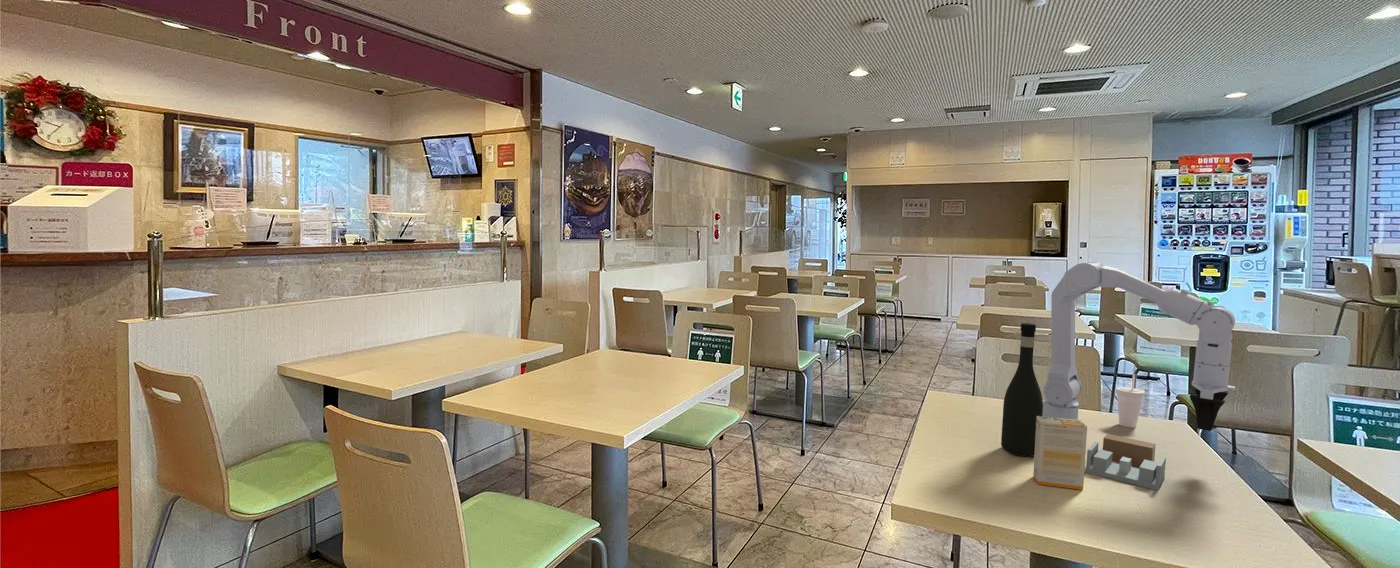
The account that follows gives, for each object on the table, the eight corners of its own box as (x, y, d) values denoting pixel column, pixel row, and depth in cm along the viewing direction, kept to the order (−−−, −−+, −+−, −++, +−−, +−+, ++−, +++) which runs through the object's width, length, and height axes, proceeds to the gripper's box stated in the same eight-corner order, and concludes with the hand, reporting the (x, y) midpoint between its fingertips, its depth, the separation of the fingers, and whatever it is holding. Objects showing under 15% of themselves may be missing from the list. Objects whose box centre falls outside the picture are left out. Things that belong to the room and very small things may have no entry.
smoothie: (1147, 430, 158) (1151, 377, 157) (1119, 428, 159) (1123, 375, 158) (1134, 422, 164) (1139, 371, 163) (1108, 420, 166) (1112, 370, 164)
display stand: (1085, 472, 129) (1086, 450, 129) (1093, 462, 135) (1095, 441, 134) (1158, 490, 120) (1160, 467, 120) (1164, 479, 126) (1166, 456, 126)
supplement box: (1077, 481, 124) (1081, 419, 123) (1083, 491, 119) (1088, 426, 118) (1031, 475, 127) (1036, 414, 125) (1036, 484, 122) (1040, 421, 121)
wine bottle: (1012, 443, 146) (1020, 320, 144) (1046, 453, 140) (1055, 324, 137) (993, 449, 142) (1001, 322, 139) (1027, 460, 135) (1036, 327, 132)
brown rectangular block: (1101, 459, 137) (1103, 437, 137) (1105, 454, 140) (1107, 433, 140) (1150, 470, 131) (1152, 448, 130) (1153, 465, 134) (1155, 443, 133)
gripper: (1235, 372, 121) (1228, 438, 122) (1239, 361, 131) (1232, 422, 133) (1190, 366, 126) (1184, 429, 127) (1197, 356, 136) (1191, 415, 137)
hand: (1206, 425), depth 130 cm, fingers open, 7 cm apart
